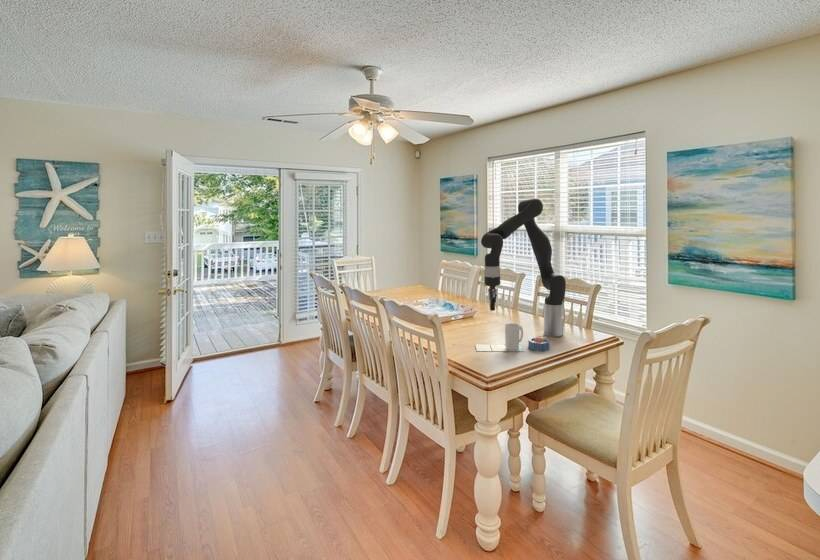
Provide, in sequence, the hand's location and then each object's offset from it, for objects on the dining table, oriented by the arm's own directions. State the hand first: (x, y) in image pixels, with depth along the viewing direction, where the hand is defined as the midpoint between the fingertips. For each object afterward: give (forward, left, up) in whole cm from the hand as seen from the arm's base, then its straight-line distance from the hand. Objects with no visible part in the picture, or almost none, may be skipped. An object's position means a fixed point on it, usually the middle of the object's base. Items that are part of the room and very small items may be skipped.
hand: (492, 310), depth 207 cm
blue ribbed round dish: (-20, +11, -19) cm, 30 cm away
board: (-3, +1, -19) cm, 20 cm away
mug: (-9, +6, -19) cm, 22 cm away
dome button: (-20, +11, -19) cm, 29 cm away
